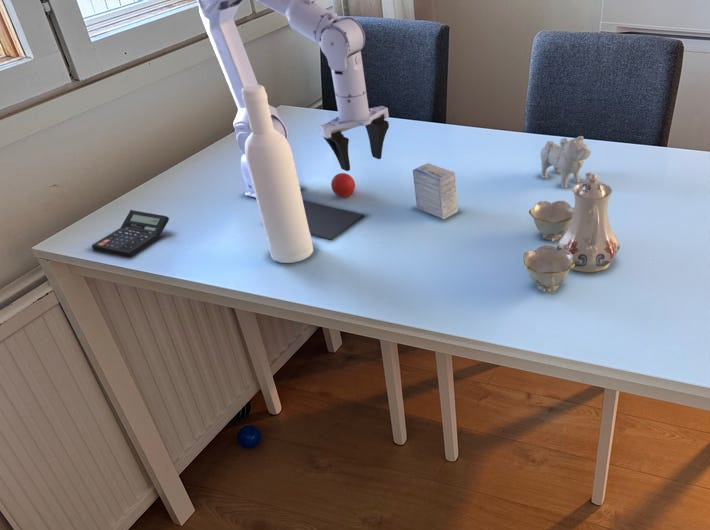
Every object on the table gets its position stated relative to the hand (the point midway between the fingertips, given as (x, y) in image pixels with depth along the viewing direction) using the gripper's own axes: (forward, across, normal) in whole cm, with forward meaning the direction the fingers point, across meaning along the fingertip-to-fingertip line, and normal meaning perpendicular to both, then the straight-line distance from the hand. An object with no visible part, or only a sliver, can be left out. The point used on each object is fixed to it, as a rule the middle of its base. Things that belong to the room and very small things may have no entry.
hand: (361, 163), depth 131 cm
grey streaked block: (+10, +9, -11) cm, 18 cm away
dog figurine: (+10, +37, -21) cm, 44 cm away
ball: (+10, +1, +9) cm, 14 cm away
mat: (+10, -10, +4) cm, 15 cm away
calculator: (+10, -39, +25) cm, 48 cm away
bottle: (+10, -20, -4) cm, 23 cm away
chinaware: (+10, +12, -44) cm, 47 cm away
